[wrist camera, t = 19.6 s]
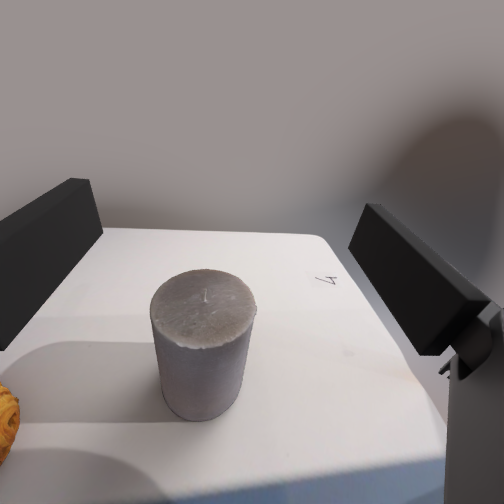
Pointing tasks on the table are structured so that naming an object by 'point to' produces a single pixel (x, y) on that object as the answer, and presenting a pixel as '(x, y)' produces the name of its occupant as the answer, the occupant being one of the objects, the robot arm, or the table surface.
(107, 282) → the table surface
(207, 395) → the pillar candle
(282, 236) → the table surface
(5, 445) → the croissant
